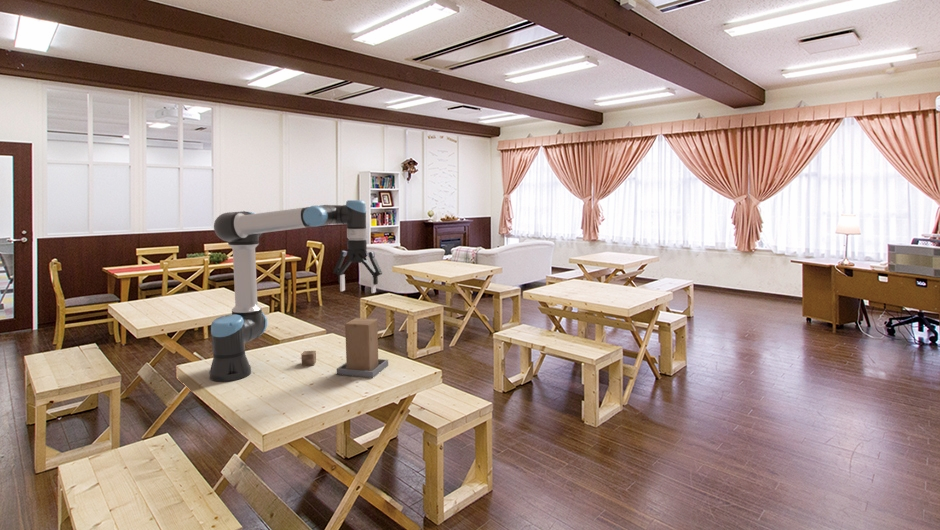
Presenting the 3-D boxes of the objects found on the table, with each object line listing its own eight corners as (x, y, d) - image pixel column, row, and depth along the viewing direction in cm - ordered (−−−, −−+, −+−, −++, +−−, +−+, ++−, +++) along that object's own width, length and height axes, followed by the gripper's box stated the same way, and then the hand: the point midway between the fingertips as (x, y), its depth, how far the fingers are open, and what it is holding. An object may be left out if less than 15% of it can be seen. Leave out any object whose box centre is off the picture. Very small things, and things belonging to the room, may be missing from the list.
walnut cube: (301, 366, 218) (301, 354, 217) (304, 362, 223) (303, 351, 222) (313, 365, 218) (313, 354, 218) (316, 361, 223) (315, 350, 222)
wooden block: (369, 373, 206) (368, 324, 204) (346, 371, 208) (344, 323, 206) (378, 365, 216) (377, 318, 213) (356, 364, 218) (355, 317, 215)
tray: (336, 374, 207) (336, 368, 206) (354, 362, 222) (354, 357, 221) (372, 378, 203) (372, 371, 203) (388, 365, 218) (388, 359, 218)
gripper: (323, 239, 205) (325, 291, 208) (382, 240, 199) (383, 295, 202) (333, 237, 212) (334, 288, 215) (389, 239, 206) (390, 291, 209)
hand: (358, 291), depth 208 cm, fingers open, 13 cm apart
